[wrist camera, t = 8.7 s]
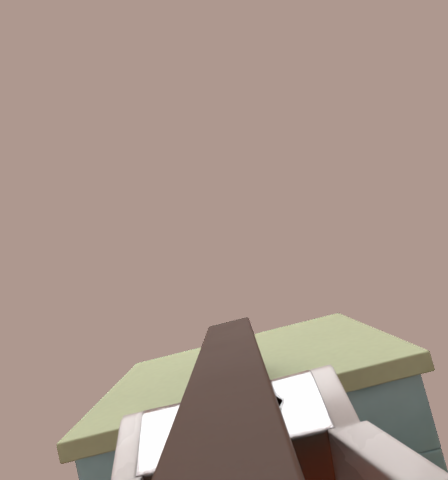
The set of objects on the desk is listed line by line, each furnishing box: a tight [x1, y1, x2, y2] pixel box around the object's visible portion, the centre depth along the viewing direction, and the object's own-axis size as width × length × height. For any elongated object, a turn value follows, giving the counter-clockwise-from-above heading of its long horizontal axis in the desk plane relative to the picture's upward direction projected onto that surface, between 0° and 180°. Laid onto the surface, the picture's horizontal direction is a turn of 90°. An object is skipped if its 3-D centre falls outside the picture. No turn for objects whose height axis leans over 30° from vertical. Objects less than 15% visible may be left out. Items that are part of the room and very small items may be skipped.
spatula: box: [57, 313, 435, 480], centre depth 16 cm, size 15×24×3 cm, turn 179°
